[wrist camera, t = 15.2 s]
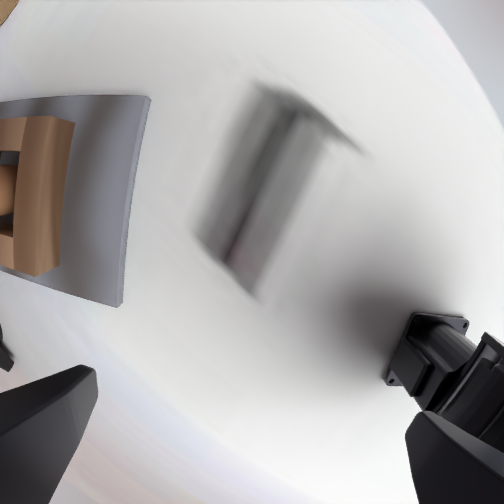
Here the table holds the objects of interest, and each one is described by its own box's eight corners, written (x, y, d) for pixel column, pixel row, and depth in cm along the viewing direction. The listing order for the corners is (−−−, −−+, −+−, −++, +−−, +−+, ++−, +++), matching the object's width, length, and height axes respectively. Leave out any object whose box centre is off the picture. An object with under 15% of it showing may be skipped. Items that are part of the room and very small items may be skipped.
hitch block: (151, 100, 17) (128, 82, 13) (122, 302, 20) (98, 326, 16) (-24, 109, 16) (-51, 104, 12) (-36, 250, 19) (-63, 259, 15)
